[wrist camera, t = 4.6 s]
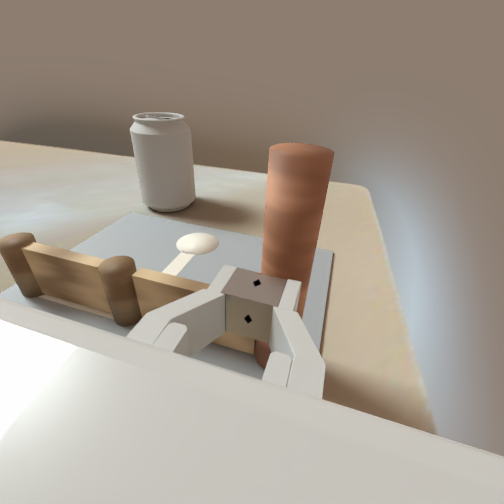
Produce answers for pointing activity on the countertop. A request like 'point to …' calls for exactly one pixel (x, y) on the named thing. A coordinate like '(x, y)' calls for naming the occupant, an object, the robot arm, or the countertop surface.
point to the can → (164, 160)
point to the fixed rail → (73, 276)
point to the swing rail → (266, 236)
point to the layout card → (183, 275)
